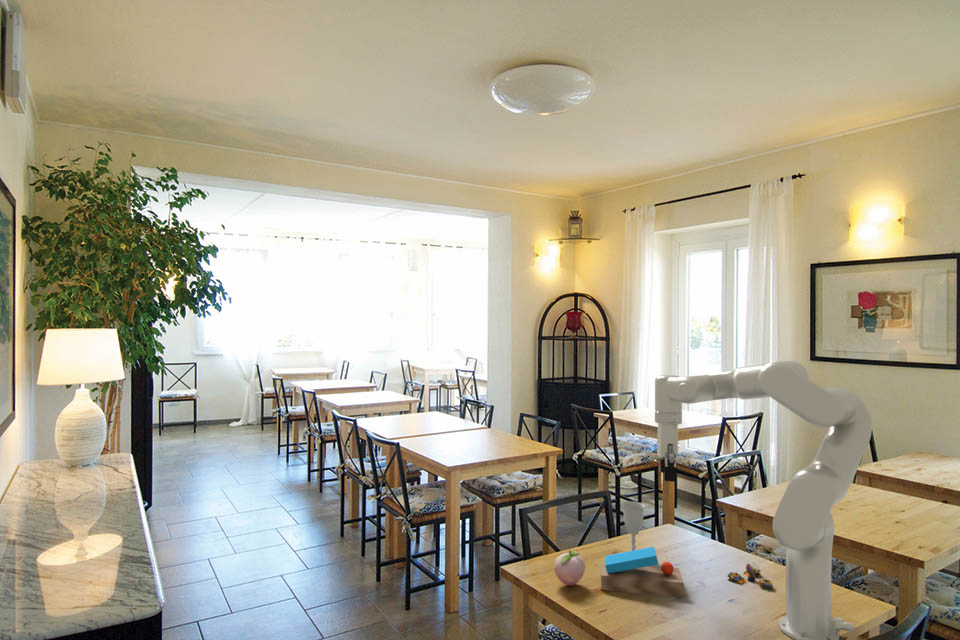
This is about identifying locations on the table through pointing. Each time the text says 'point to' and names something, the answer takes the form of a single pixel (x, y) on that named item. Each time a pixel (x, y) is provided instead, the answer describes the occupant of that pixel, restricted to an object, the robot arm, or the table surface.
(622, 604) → the table surface
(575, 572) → the decorative fruit
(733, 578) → the toy set
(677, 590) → the walnut riser block
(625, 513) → the chalice
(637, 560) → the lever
